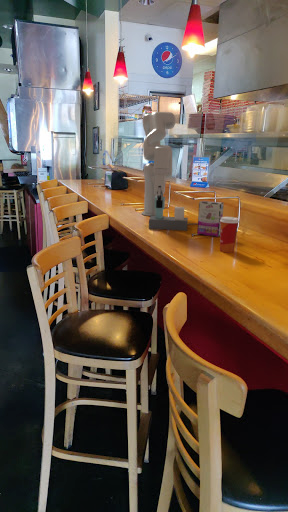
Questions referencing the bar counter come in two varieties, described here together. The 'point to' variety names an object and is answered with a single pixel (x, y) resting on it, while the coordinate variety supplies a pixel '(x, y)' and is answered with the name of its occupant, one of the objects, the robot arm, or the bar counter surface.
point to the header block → (170, 221)
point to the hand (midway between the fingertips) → (159, 206)
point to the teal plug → (160, 209)
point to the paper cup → (228, 234)
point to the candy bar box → (210, 218)
